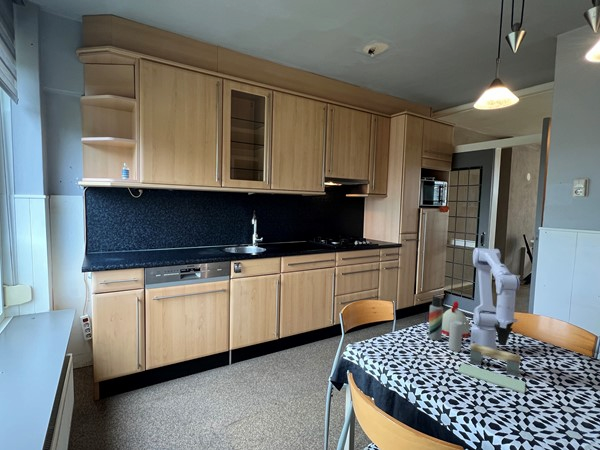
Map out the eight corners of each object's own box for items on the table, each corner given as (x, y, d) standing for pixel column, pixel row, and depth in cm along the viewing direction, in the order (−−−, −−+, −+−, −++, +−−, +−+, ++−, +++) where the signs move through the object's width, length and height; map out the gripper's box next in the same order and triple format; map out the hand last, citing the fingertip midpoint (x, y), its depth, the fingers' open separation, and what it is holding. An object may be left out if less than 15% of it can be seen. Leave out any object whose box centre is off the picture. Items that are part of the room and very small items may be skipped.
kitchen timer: (472, 332, 153) (474, 302, 152) (464, 340, 143) (466, 308, 142) (443, 324, 163) (445, 296, 162) (434, 331, 153) (435, 301, 152)
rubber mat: (457, 372, 114) (457, 371, 114) (462, 364, 120) (462, 362, 120) (524, 393, 101) (524, 392, 101) (525, 383, 108) (525, 382, 108)
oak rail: (470, 351, 122) (470, 345, 122) (471, 349, 124) (472, 343, 124) (519, 365, 112) (520, 358, 112) (520, 362, 115) (520, 355, 114)
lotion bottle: (425, 335, 147) (428, 294, 146) (437, 335, 147) (439, 294, 146) (432, 340, 141) (434, 297, 140) (443, 340, 142) (446, 298, 140)
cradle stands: (469, 362, 121) (470, 349, 121) (472, 358, 125) (472, 345, 125) (518, 377, 112) (519, 363, 111) (518, 371, 116) (519, 358, 115)
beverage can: (462, 353, 130) (464, 325, 129) (450, 351, 131) (451, 323, 130) (459, 348, 134) (460, 321, 134) (447, 346, 135) (448, 320, 135)
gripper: (517, 313, 109) (514, 350, 110) (519, 304, 121) (516, 337, 121) (494, 308, 113) (491, 344, 114) (497, 300, 125) (495, 333, 125)
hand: (503, 341), depth 118 cm, fingers open, 7 cm apart
